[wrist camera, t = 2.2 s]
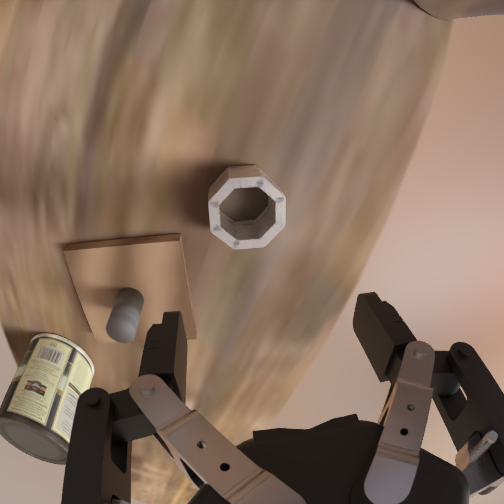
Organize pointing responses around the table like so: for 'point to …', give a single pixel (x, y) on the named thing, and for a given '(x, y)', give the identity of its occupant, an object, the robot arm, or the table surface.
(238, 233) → the ring
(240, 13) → the table surface
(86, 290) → the post block
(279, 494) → the robot arm
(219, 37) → the table surface
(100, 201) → the table surface
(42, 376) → the coffee can
